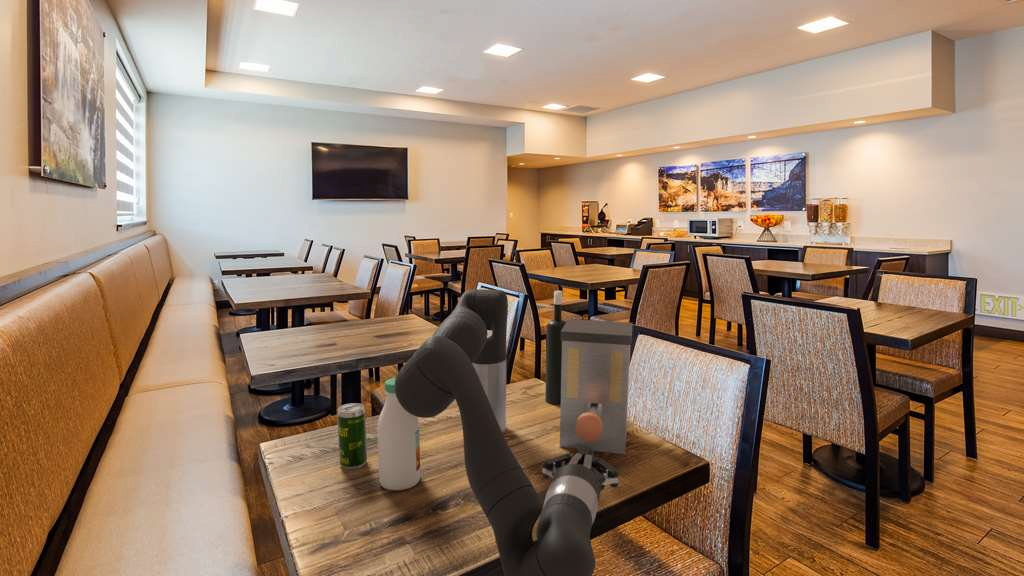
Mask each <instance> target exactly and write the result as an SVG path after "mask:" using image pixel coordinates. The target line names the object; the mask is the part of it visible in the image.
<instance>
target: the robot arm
mask: <svg viewBox="0 0 1024 576" xmlns="http://www.w3.org/2000/svg"><path fill="white" fill-rule="evenodd" d="M508 311H509V301H508V295H507V293H506V292H505V291H504V290H501V289H480V288H479V289H469V290H466V291H464V292H463V293H462V295H461V296H460V299H459V300H458V302H457V304H456V306H455V308H454V309H453V310H452V312H451V313H450V315H448V316H447V317H446V318H445V319H444V320H443V321H442V323H440V324H439V326H438V327H437V329H436V330H435V331H434V333H433V335H432V336H431V337H428V339H426V340H425V341H424V342H423V343H422V344H421V345H420V346H419V348H418V349H417V350H416V351H415V352H414V353H413V355H411V357H409V359H408V360H407V361H406V363H405V364H403V365H402V367H401V368H400V369H399V371H398V372H397V375H396V377H395V378H396V379H395V385H394V387H395V394H396V397H397V399H398V402H399V403H400V405H401V406H402V407H403V408H404V409H405V410H406V411H407V412H408V413H410V414H412V415H414V416H417V417H418V418H419V419H420V418H421V419H423V418H424V419H427V418H428V419H429V418H433V417H436V416H438V415H440V414H442V413H443V412H444V411H446V409H448V407H449V406H451V404H453V402H454V401H456V404H457V407H458V410H459V414H460V420H461V426H462V427H461V428H462V435H463V437H462V438H463V454H464V455H463V456H464V457H463V458H464V465H465V466H464V467H465V472H466V476H467V480H468V484H469V486H470V488H471V491H472V493H473V495H474V497H475V499H476V501H477V502H478V504H479V506H480V508H481V510H482V511H483V513H484V515H485V518H487V521H488V522H489V524H490V526H491V528H492V532H493V536H494V539H495V543H496V544H495V545H496V549H497V552H498V555H499V559H500V563H501V566H502V571H503V576H593V574H594V572H595V569H596V556H595V554H594V550H593V546H592V541H591V537H590V535H591V530H592V526H593V524H594V522H595V519H596V515H597V511H598V506H599V500H600V496H601V492H602V491H604V490H605V488H606V485H607V486H608V485H609V486H610V487H611V488H613V489H614V488H619V475H620V474H619V473H620V472H619V470H618V469H616V468H615V467H614V466H613V465H611V464H610V463H609V462H607V461H606V460H604V459H603V458H601V457H595V458H594V456H595V455H594V454H595V451H593V450H591V447H586V446H582V448H579V449H576V450H577V451H576V452H575V455H574V456H572V454H569V453H564V454H561V455H559V456H556V457H553V458H551V459H546V460H544V461H543V462H542V472H541V473H542V478H544V479H550V478H551V482H550V485H549V487H548V489H547V490H546V494H545V498H544V501H542V499H541V497H540V495H539V493H538V491H537V490H536V488H535V487H534V486H533V484H532V482H531V481H530V479H529V477H528V476H527V474H526V472H525V471H524V469H523V467H522V466H521V464H520V462H519V461H518V460H517V458H516V457H515V454H514V453H513V451H512V450H511V448H510V445H509V443H508V441H507V439H506V437H505V436H504V433H505V432H506V429H507V332H508V331H507V330H508V327H507V326H508V315H509V312H508ZM488 331H491V332H492V333H491V335H490V336H489V337H488ZM562 463H563V465H562ZM536 523H537V524H536ZM535 525H537V526H536V533H535V534H536V535H535V536H536V542H535V543H534V539H533V531H534V527H535Z"/></svg>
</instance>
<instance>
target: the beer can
mask: <svg viewBox="0 0 1024 576" xmlns="http://www.w3.org/2000/svg"><path fill="white" fill-rule="evenodd" d="M337 410H338V411H337V417H336V418H337V436H338V437H337V438H338V452H339V453H338V456H339V457H338V459H339V460H338V461H339V464H340V467H341V468H343V469H344V470H349V471H350V470H357V469H359V468H360V469H361V468H362V467H364V466H365V465H366V463H367V460H368V450H367V449H368V448H367V424H366V423H367V422H366V409H365V406H364V405H363V403H357V402H356V403H355V402H353V403H352V402H351V403H345V404H343V405H340V406H339V407H338V409H337Z"/></svg>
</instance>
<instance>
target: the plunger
mask: <svg viewBox="0 0 1024 576" xmlns="http://www.w3.org/2000/svg"><path fill="white" fill-rule="evenodd" d="M597 408H598V403H591V405H590V409H589V412H586V413H583V414H582V415H580V416H579V418H578V419H577V423H576V427H575V428H576V433H577V435H578V436H579V437H580V438H581V439H583V440H585V441H594V440H597V439H598V438H599V437H600V435H601V433H602V428H603V423H602V420H601V418H600V417H599V416H598V415H596V413H597Z"/></svg>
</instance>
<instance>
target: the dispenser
mask: <svg viewBox="0 0 1024 576" xmlns="http://www.w3.org/2000/svg"><path fill="white" fill-rule="evenodd" d="M632 337H633V322H627V321H624V322H623V321H608V320H594V319H593V320H589V319H573V318H569V319H568V320H567V321H566V324H565V325H564V327H563V329H562V330H561V340H560V341H562V367H561V404H560V414H559V415H560V416H559V417H560V418H559V419H560V421H559V448H565V449H576V450H578V449H579V448H582V446H586V447H591V450H593V451H594V452H601V453H609V454H610V453H611V454H618V455H626V442H627V433H628V432H627V431H628V430H627V429H628V409H629V387H630V386H629V383H630V360H631V346H632V339H633V338H632ZM591 403H598V408H597V413H596V415H598V416H599V417H600V418H601V420H602V423H603V428H602V433H601V435H600V437H599V438H598V439H597V440H594V441H585V440H583V439H581V438H580V437H579V436H578V435H577V433H576V428H575V427H576V423H577V419H578V418H579V416H580V415H582V414H583V413H586V412H589V409H590V405H591Z"/></svg>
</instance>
